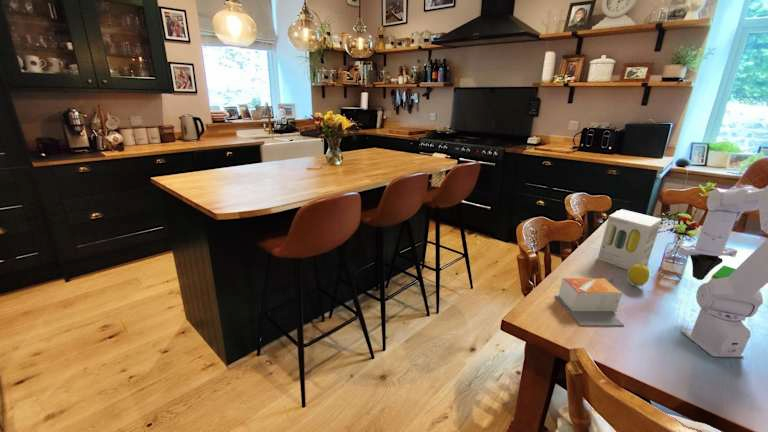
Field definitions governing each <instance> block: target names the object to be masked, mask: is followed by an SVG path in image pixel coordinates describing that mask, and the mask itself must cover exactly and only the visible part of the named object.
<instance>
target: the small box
mask: <svg viewBox="0 0 768 432" xmlns="http://www.w3.org/2000/svg"><path fill="white" fill-rule="evenodd" d="M560 284H561V285H560V288H559V292H558V296H559V297H560V298H561V299H562V300H563V301H564V303H565V304H566V305H567V306H568V307H569V308H570V309H571V310H572V311H610V312H617V311H618V308H619V304H620V300H621V298H622V294H623V293H622V292H621V291H620V290H619V289H617V288H616V287H615V286H614V285H613V284H612V283H610V282H609V281H608V280H607V279H606V278H580V277H579V278H574V277H572V278H569V277H567V278H566V277H565V278H564V277H562V279H561V283H560Z"/></svg>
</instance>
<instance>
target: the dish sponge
mask: <svg viewBox="0 0 768 432" xmlns="http://www.w3.org/2000/svg"><path fill="white" fill-rule="evenodd" d="M736 269H737V268H733V267H730V266H727V265H722V266H721V267H720V268H719V269H718V270H717V271H716V272H714V273H713V274H712V275H711V277H710V280H711V279H717V278H724V277H728V276H729V275H731V274H732V273H733V272H734V271H735V270H736Z"/></svg>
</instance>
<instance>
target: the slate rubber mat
mask: <svg viewBox="0 0 768 432" xmlns="http://www.w3.org/2000/svg"><path fill="white" fill-rule="evenodd" d="M554 298H555V299H556V300H557V301H558V302H559V304H561V306H562V307H563V308H564V309H565V310H566V311H567V313H568V314H569V315H570V316H571V317H572V318H573V320H574V321H575V322H576V323H577V324H578V326H579V327H625V325H624V323H622V321H620V319H618V318H617V317H616V316H615V314H614V313H613V312H612V311H572V310H571V309H570V308H569V307H568V306H567V305H566V304H565V303H564V301H563V300H562V299H561V298H560V297H559V295H554Z"/></svg>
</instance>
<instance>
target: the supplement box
mask: <svg viewBox="0 0 768 432" xmlns="http://www.w3.org/2000/svg"><path fill="white" fill-rule="evenodd" d="M662 220H663V218H660V217H656V216H651V215H647V214H643V213H639V212H635V211H631V210H627V209H623V208H622V209H620V210H618V211H616V212H613V213H611V214H610V215H608V218H607V222H606V226H605V229H604V232H603V237H602V241H601V244H600V247H599V249H600V250H598V251H599V252H598V256H597V260H599V261H600V260H601V261H603V262H606V263H609V264H610V265H611V264H612V265H614V266H617V267H620V268H623V269H626V270H628V271H629V269H630V268H631V267H632V266H633V265H636V264H643V265H644V266H646V265H647V264H648V263H649V260H650V257H651V255H652V251H653V248H654V244H655V242H656V240H657V239H656V238H657V236H658V233H659V229H660V227H661V223H662Z"/></svg>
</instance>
